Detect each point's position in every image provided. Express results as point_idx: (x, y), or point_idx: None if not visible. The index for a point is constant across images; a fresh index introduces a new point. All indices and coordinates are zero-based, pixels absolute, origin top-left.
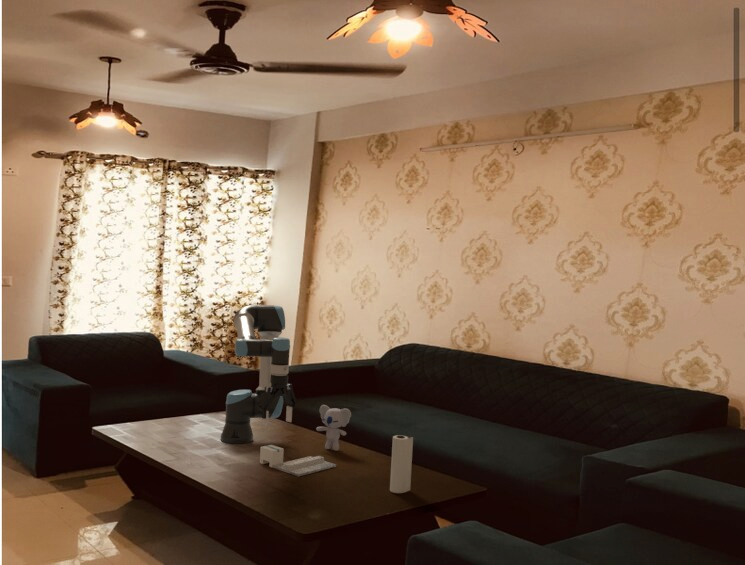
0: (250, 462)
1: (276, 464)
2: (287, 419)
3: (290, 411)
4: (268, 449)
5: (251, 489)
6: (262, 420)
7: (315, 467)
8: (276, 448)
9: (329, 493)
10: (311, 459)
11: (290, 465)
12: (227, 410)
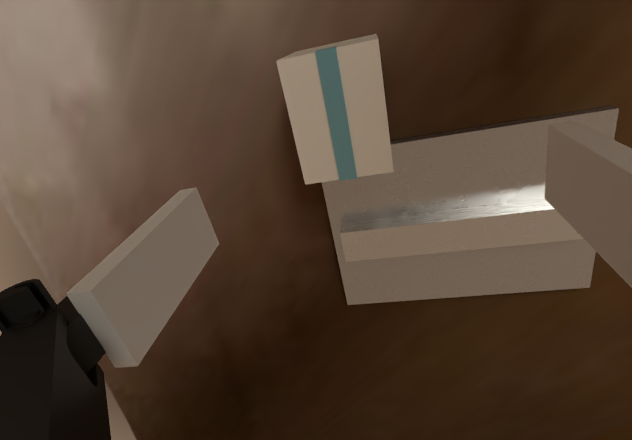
0: (255, 10)
1: None
2: (559, 159)
3: (621, 271)
4: (296, 143)
5: None
6: (153, 217)
7: (471, 276)
8: (352, 151)
9: (341, 430)
10: (507, 236)
11: (352, 260)
12: None
